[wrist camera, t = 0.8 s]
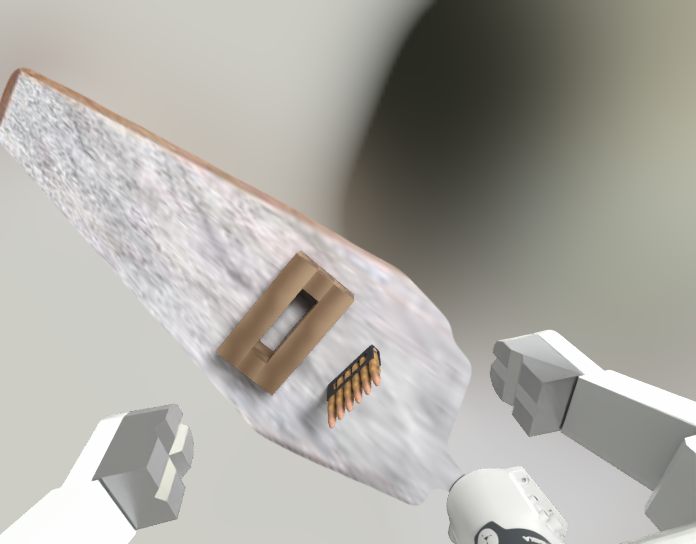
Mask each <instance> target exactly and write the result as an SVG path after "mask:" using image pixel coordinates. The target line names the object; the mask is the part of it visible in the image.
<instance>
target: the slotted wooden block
mask: <svg viewBox="0 0 696 544" xmlns="http://www.w3.org/2000/svg"><path fill="white" fill-rule="evenodd" d="M302 288H303V289H304V290H305V291H306V292H307V293H309V294H310V295H311V296H312V297H314V298H315V299H316V300H317V301H316V302H315V303H314V305H313V306H312V307H311V308H310V309H309V310H308V312H307V313H306V314H305V315H304V316H303V317H302V319H301V320H300V321H299V322H298V323H297V325H296V326H295V327H294V328H293V329H292V330H291V332H290V333H289V334H288V335H287V336H286V337H285V339H284V340H283V341H282V342H281V343H280V345H279V346H278V347H277V348H276V349H275V350H274V352H273V351H272V350H270V349H269V348H268V347H267V346H265V345H264V344H263V343H261V342H260V341H259V340H260V338H261V337H262V336H263V335H264V334H265V332H266V331H267V330H268V329H269V328H270V326H271V325H272V324H273V323H274V322H275V321H276V319H277V318H278V317H279V316H280V315H281V313H282V312H283V311H284V310H285V309H286V307H287V306H288V305H289V304H290V303H291V301H292V300H293V299H294V298H295V297H296V295H297V294H298V293H299V292H300V291H301V289H302ZM353 302H354V294H353V293H351V292H350V291H349V290H348V289H347V288H345V287H344V286H343V285H342V284H341V283H339V282H338V281H337V280H336V279H335V278H333V277H332V276H331V275H330V274H329V273H327V272H326V271H325V270H324V269H323V268H321V267H320V266H319V265H318V264H317V263H315V262H314V261H313V260H312V259H310V258H309V257H308V256H307V255H306V254H304V253H303V252H302V251H300V252H298V253H296V255H295V256H294V257H293V258H292V259H291V261H290V262H289V263H288V264H287V265H286V267H285V268H284V269H283V270H282V272H281V273H280V274H279V275H278V276H277V278H276V279H275V280H274V281H273V282H272V284H271V285H270V286H269V287H268V289H267V290H266V291H265V292H264V293H263V295H262V296H261V297H260V298H259V300H258V301H257V302H256V303H255V304H254V306H253V307H252V308H251V309H250V310H249V312H248V313H247V314H246V315H245V317H244V318H243V319H242V320H241V321H240V323H239V324H238V325H237V326H236V328H235V329H234V330H233V331H232V332H231V334H230V335H229V336H228V337H227V338H226V340H225V341H224V342H223V343H222V345H221V346H220V347H219V348H218V349H217V351H216V353H218V354H219V355H220V356H221V357H223V358H224V359H225V360H227V361H228V362H229V363H230V364H232V365H233V366H234V367H236V368H237V369H238V370H240V371H241V372H242V373H243V374H245V375H246V376H247V377H249V378H250V379H251V380H252V381H254V382H255V383H256V384H258V385H259V386H260V387H262V388H263V389H264V390H265V391H267V392H268V393H269V394H271V395H273V394H274V393H275V392H276V391H277V390H278V388H279V387H280V386H281V385H282V384H283V383H284V381H285V380H286V379H287V378H288V377H289V376H290V375H291V373H292V372H293V371H294V370H295V369H296V368H297V366H298V365H299V364H300V363H301V362H302V361H303V360H304V358H305V357H306V356H307V355H308V354H309V353H310V351H311V350H312V349H313V348H314V347H315V346H316V345H317V343H318V342H319V341H320V340H321V339H322V338H323V336H324V335H325V334H326V333H327V332H328V331H329V330H330V328H331V327H332V326H333V325H334V324H335V323H336V321H337V320H338V319H339V318H340V317H341V316H342V315H343V313H344V312H345V311H346V310H347V309H348V308H349V306H350V305H351V304H352V303H353Z"/></svg>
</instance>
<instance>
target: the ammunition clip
mask: <svg viewBox="0 0 696 544" xmlns="http://www.w3.org/2000/svg"><path fill="white" fill-rule="evenodd" d="M380 366H381V361H380V354H379V351H378V350H377V349H376V348H375V347H374V346H373V345H371V346H369V347H368V348H367V349H366V350H365V351H364V352H363V353H362V354H361V355H360V356H359V357H358V358H357V359H356V360H355V361H353V362H352V363H351V364H350V365H349V366H348V367H347V368H346V369H345V370H344V371H343V372H342V373H341V374H340V375H338V376H337V377H336V378H335V379H334V380H333V381H332V382H331V383H330V384H329V385H328V392H327V401H328V400H329V402H328V423H329V426H330V428H333V427H334V425H335V422H336V417H337V416H338V419H339V420H341V419H342V418H343V416H344V413H345V406H346V408H347V410H348V411H349V412H350V411H351V410H352V408H353V401H354V398H355V400H356V402H357V403H360V402H361V399H362V390H363V389H364V392H365V393H366V394H367V395H369V394H370V392H371V381H372V380H373V383H374V384H375V385H376V386H379V384H380Z"/></svg>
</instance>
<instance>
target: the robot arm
mask: <svg viewBox="0 0 696 544" xmlns="http://www.w3.org/2000/svg"><path fill="white" fill-rule="evenodd" d="M493 353H494V355H495V356H496V357H497V359H496V360H495V361H494V362H493V363H492V365H491V370H490V377H491V382H492V385H493V387H494V390H495V391H496V393H497V395H498V396H499V398H500V399H501V400H502V401H504V402H505V403H508V404H509V405H511V406H512V415H513V416H514V418H515V419H516V420H517V422H518V423H519V424H520V426H521V427H522V428H523V430H524V431H525V432H526V434H527V435H528V436H529V437H531V436H536V435H541V434H545V433H551V432H556V431H561V430H562V431H561V433H563V434H564V435H566V436H568V437H569V438H571V439H572V440H574V441H575V442H577V443H578V444H580V445H582V446H583V447H585V448H586V449H588V450H589V451H591V452H593V453H594V454H596V455H597V456H599V457H600V458H602V459H603V460H605V461H607V462H608V463H610V464H611V465H613V466H615V467H616V468H617V469H619V470H621V471H622V472H624V473H625V474H627V475H628V476H630V477H631V478H633V479H635V480H636V481H638V482H639V483H641V484H643V485H644V486H646V487H647V488H649V489H650V490H652V491H653V493H652V495H651V497H650V498H649V500H648V502H647V503H646V505H645V514H646V516H647V517H648V518H649V519H650V520H651V521H652V522H653V524H654V525H655V526H656V527H657V528H658V529H659V530H660V531H661V532H659V533H655V534H652V535H648V536H645V537H641V538H638V539H634V540H631V541H628V542H624V543H620V544H696V402H694V401H691V400H688V399H686V398H683V397H680V396H678V395H675V394H673V393H670V392H667V391H665V390H662V389H659V388H657V387H654V386H651V385H649V384H646V383H643V382H640V381H638V380H635V379H632V378H630V377H627V376H625V375H622V374H619V373H617V372H614V371H611V370H607V371H604V370H602V369H601V368H600V367H598V366H597V365H596V364H595V363H594V362H592V361H591V360H590V359H589V358H588V357H586V356H585V355H584V354H583V353H581V352H580V351H579V350H578V349H577V348H575V347H574V346H573V345H572V344H570V343H569V342H568V341H567V340H566V339H564V338H563V337H562V336H561V335H559V334H558V333H557V332H555V331H552V330H546V331H542V332H537V333H533V334H528V335H523V336H518V337H513V338H508V339H503V340H498V341H497V342H496V343H495V345H494V348H493ZM182 415H183V413H182V412H181V410H180V408H179V406H178V405H176V404H171V405H164V406H159V407H153V408H147V409H142V410H135V411H130V412H126V413H120V414H115V415H108V416H106V417H105V418H103V419H102V420H101V421H100V422H99V424H98V425H97V427H96V429H95V430H94V432H93V434H92V436H91V437H90V439H89V441H88V442H87V444H86V446H85V448H84V449H83V451H82V453H81V454H80V456H79V458H78V460H77V461H76V463H75V465H74V467H73V468H72V470H71V472H70V473H69V475H68V477H67V478H66V480H65V482H64V484H63V485H62V487H61V488H57V489H53V490H52V491H51V492H49V493H48V494H47V495H46V496H45V497H44V498H43V499H41V500H40V501H39V502H38V503H37V504H36V505H34V506H33V507H32V508H31V509H30V510H29V511H28V512H26V513H25V514H24V515H23V516H22V517H20V518H19V519H18V520H17V521H16V522H15V523H14V524H13V525H11V526H10V527H9V528H8V529H7V530H5V531H4V532H3V533H2V534H1V535H0V544H128V543H129V541H130V540H131V539H132V537H133V536H134V535H135V533H136V531H135V530H138V529H141V528H145V527H149V526H153V525H157V524H160V523H164V522H168V521H172V520H175V519H177V518H178V514H179V510H180V506H181V503H182V499H183V495H184V491H185V486H184V484H183V482H182V480H181V479H182V477H183V476H184V475H185V474H186V473H187V471H188V470H189V469H190V468H191V463H192V459H193V446H194V442H193V438H192V433H191V431H190V429H189V427H188V426H186V425H184V424H182V423H181V422H180V421H181V419H182ZM522 478H523V479H522ZM447 512H448V516H449V519H450V526H449V531H448V534H449V537H450V539H451V541H452V542H453V543H455V544H566V543H565V542H564V541H563V538H564V537H565V534H566V532H567V528H568V525H567V523H566V521H565V520H564V518H563V517H562V515H561V514H560V513H559V512H558V511H557V509H556V508H555V507H554V505H553V504H552V503H551V502H550V500H549V499H548V498H547V497H546V495H545V494H544V493H543V492H542V490H541V489H540V488H539V487H538V485H537V484H536V483H535V482H534V480H533V479H532V478H531V477H530V476H529V474H528V473H527V472H526V470H525V469H524V468H523V467H521V466H515V467H510V468H507V469H495V468H484V469H479V470H475V471H472V472H470V473H468V474H466V475H464V476H463V477H462V478H460V479H459V480H458V481H457V482H456V483H455V484H454V486H453V487H452V489H451V491H450V493H449V495H448V499H447Z"/></svg>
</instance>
